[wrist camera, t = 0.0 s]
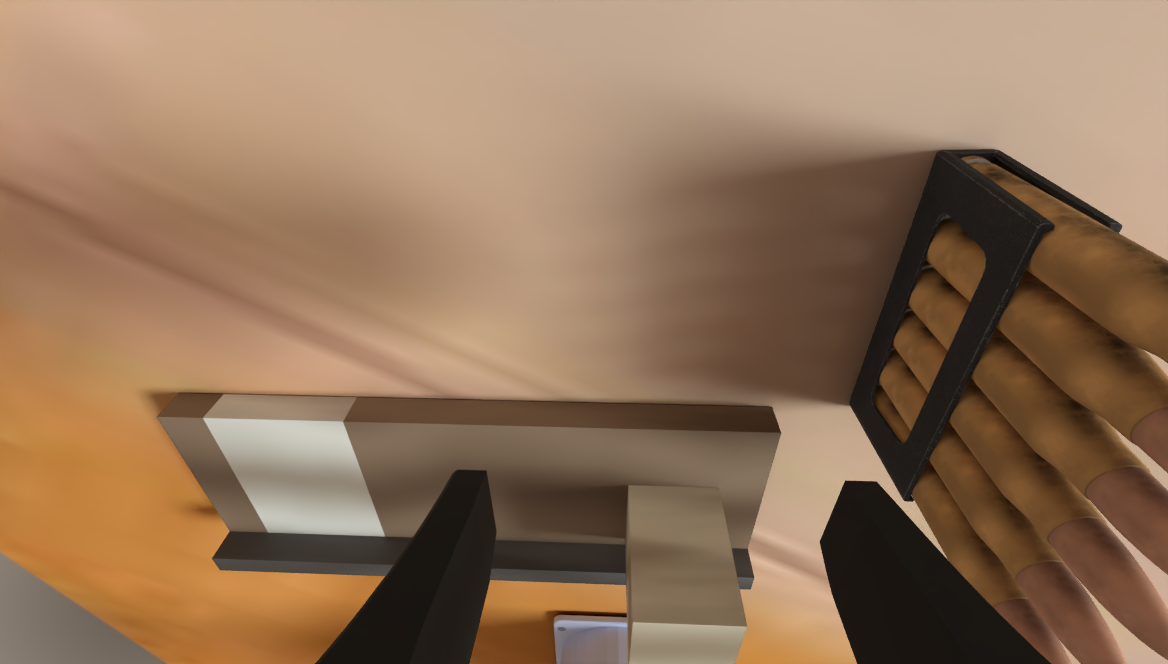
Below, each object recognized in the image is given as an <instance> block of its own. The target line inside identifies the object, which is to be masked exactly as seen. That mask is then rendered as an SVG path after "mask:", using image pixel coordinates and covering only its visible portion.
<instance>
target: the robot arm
mask: <svg viewBox="0 0 1168 664" xmlns="http://www.w3.org/2000/svg"><path fill="white" fill-rule="evenodd" d="M496 532H497V530H496V524H495V518H494V512H493V506H492V500H491V494H490V488H489V482H488V476H487V470H456V471H455V472H453V473H452V475H451V477H450V478H449V480H448V482H447V484H446V485H445V487H444V489H443V491H442V492H441V494H440V496H439V497H438V499H437V500H436V502H435V504H434V505H433V507H432V509H431V510H430V512H429V513H428V515H427V516H426V518H425V520H424V521H423V523H422V524H421V526H420V527H419V529H418V530H417V532H416V533H415V535H414V536H413V538H412V539H411V541H410V542H409V543H408V545H407V546H406V548H405V549H404V551H403V552H402V554H401V555H400V556H399V558H398V559H397V561H396V562H395V564H394V565H393V567H392V568H391V569H390V571H389V572H388V573H387V575H386V576H385V578H384V579H383V580H382V581H381V583H380V584H379V585H378V587H377V588H376V589H375V591H374V592H373V593H372V595H371V596H370V597H369V599H368V600H367V601H366V602H365V604H364V605H363V606H362V608H361V609H360V610H359V612H358V613H357V614H356V615H355V617H354V618H353V619H352V620H351V622H350V623H349V624H348V625H347V627H346V628H345V629H344V630H343V632H342V633H341V634H340V635H339V636H338V638H337V639H336V640H335V641H334V642H333V644H332V645H331V646H330V647H329V648H328V649H327V651H326V652H325V653H324V654H323V655H322V656H321V657H320V659H319V660H318V661H317V662H316V663H315V664H469V662H470V658H471V654H472V650H473V646H474V642H475V638H476V634H477V631H478V627H479V623H480V618H481V614H482V610H483V606H484V602H485V598H486V594H487V590H488V586H489V582H490V575H491V568H492V561H493V554H494V547H495V540H496ZM820 545H821V550H822V554H823V559H824V563H825V568H826V572H827V576H828V580H829V584H830V588H831V592H832V595H833V598H834V601H835V604H836V607H837V609H838V612H839V615H840V618H841V620H842V623H843V626H844V629H845V631H846V634H847V637H848V640H849V642H850V645H851V648H852V651H853V653H854V656H855V659H856V661H857V664H1051V663H1050V662H1049V661H1048V660H1047V659H1046V658H1045V657H1044V656H1043V655H1042V654H1040V653H1039V652H1038V651H1037V650H1036V649H1035V648H1034V647H1033V646H1032V645H1031V644H1030V643H1029V642H1028V641H1027V640H1026V639H1025V638H1024V637H1023V636H1022V635H1021V634H1020V633H1019V632H1018V631H1017V630H1016V629H1015V628H1014V627H1012V626H1011V625H1010V624H1009V623H1008V622H1007V621H1006V620H1005V619H1004V618H1003V617H1002V616H1001V615H1000V614H999V613H998V612H997V611H996V610H995V609H994V608H993V607H992V606H991V605H990V604H989V603H988V602H987V601H986V600H985V599H984V598H983V597H982V595H981V594H980V593H979V592H978V591H977V590H976V589H975V588H974V587H973V586H972V585H971V584H970V583H969V582H968V581H967V580H966V579H965V578H964V577H963V576H962V575H961V573H960V572H959V571H958V570H957V569H956V568H955V567H954V566H953V565H952V564H951V563H950V562H949V561H948V560H947V559H946V558H945V556H944V555H943V554H942V553H941V552H940V551H939V550H938V549H937V548H936V547H935V546H934V545H933V543H932V542H931V541H930V540H929V539H928V538H927V537H926V536H925V535H924V534H923V532H922V531H921V530H920V529H919V528H918V527H917V526H916V525H915V524H914V522H913V521H912V520H911V519H910V518H909V517H908V516H907V515H906V514H905V512H904V511H903V510H902V509H901V508H900V507H899V506H898V505H897V504H896V502H895V501H894V500H893V499H892V498H891V497H890V496H889V495H888V494H887V493H886V491H885V490H884V489H883V488H882V487H881V486H880V485H879V484H878V483H877V482H873V481H845V482H844V485H843V487H842V490H841V492H840V494H839V497H838V499H837V502H836V504H835V506H834V509H833V511H832V514H831V516H830V518H829V521H828V523H827V526H826V528H825V530H824V533H823V535H822V538H821V540H820ZM554 637H555V650H556V663H557V664H628V640H627V617H606V616H580V615H557V616H556V617H554Z"/></svg>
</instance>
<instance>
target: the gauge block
mask: <svg viewBox="0 0 1168 664" xmlns="http://www.w3.org/2000/svg"><path fill="white" fill-rule="evenodd" d="M625 556H626V598H627V640H628V664H735V661H736V658H737V655H738V653H739V650H740V647H741V644H742V641H743V638H744V635H745V632H746V629H747V623H746V618H745V613H744V608H743V603H742V598H741V594H740V589H739V584H738V579H737V574H736V569H735V564H734V559H733V554H732V549H731V544H730V539H729V534H728V529H727V524H726V519H725V514H724V509H723V505H722V500H721V495H720V490H719V488H710V487H676V486H642V485H628V501H627V517H626V532H625Z"/></svg>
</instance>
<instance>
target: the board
mask: <svg viewBox="0 0 1168 664" xmlns="http://www.w3.org/2000/svg"><path fill="white" fill-rule="evenodd" d="M157 418H158V420H159V421H160V423H161V424H162V426H163V428H164V429H165V431H166V432H167V434H168V435H169V437H170V439H171V440H172V442H173V443H174V445H175V446H176V448H177V449H178V451H179V453H180V454H181V456H182V457H183V459H184V460H185V462H186V464H187V465H188V467H189V468H190V470H191V471H192V473H193V474H194V476H195V478H196V479H197V481H198V482H199V484H200V485H201V487H202V489H203V490H204V492H205V493H206V495H207V496H208V498H209V499H210V501H211V503H212V504H213V506H214V507H215V509H216V510H217V512H218V513H219V515H220V517H221V518H222V520H223V521H224V523H225V524H226V526H227V528H228V529H229V531H230V532H229V533H228V535H227V536H226V538H225V540H224V541H223V543H222V544H221V546H220V547H219V549H218V550H217V552H216V553H215V555H214V556H213V558H212V559H213V561H214V562H215V564H216V565H217V566H218V568H219V569H220V570H231V571H258V572H285V573H313V574H340V575H367V576H386V575H387V573H388V572H389V571H390V569H391V568H392V567H393V565H394V564H395V562H396V561H397V559H398V558H399V556H400V555H401V554H402V552H403V551H404V549H405V548H406V546H407V545H408V543H409V542H410V541H411V539H412V538H413V536H414V535H415V533H416V532H417V530H418V529H419V527H420V526H421V524H422V523H423V521H424V520H425V518H426V516H427V515H428V513H429V512H430V510H431V509H432V507H433V505H434V504H435V502H436V500H437V499H438V497H439V496H440V494H441V492H442V491H443V489H444V487H445V485H446V484H447V482H448V480H449V478H450V477H451V475H452V473H453V472H455V471H456V470H487V476H488V482H489V488H490V494H491V500H492V506H493V512H494V518H495V524H496V530H497V532H496V540H495V547H494V554H493V561H492V568H491V575H490V580H504V581H532V582H559V583H586V584H614V585H626V556H625V532H626V517H627V501H628V485H642V486H676V487H710V488H719V490H720V495H721V500H722V505H723V509H724V514H725V519H726V524H727V529H728V534H729V539H730V544H731V549H732V554H733V559H734V564H735V569H736V574H737V579H738V584H739V589H751V586H752V583H753V580H754V575H753V570H752V566H751V562H750V557H749V553H748V545H749V542H750V539H751V535H752V532H753V528H754V525H755V521H756V518H757V514H758V511H759V508H760V504H761V501H762V497H763V494H764V490H765V487H766V483H767V480H768V477H769V473H770V470H771V466H772V463H773V459H774V456H775V452H776V449H777V445H778V442H779V439H780V435H781V431H780V428H779V425H778V423H777V420H776V417H775V414H774V411H773V408H772V407H744V406H702V405H660V404H618V403H576V402H534V401H492V400H450V399H409V398H367V397H325V396H283V395H241V394H199V393H180V394H179V395H178V396H177V397H176V398H175V399H174V400H173V401H172V402H171V403H170V404H169V405H168V406H167V407H166V408H165V409H164V410H163V411H162V412H161V413H160V414H159V415H158V416H157Z"/></svg>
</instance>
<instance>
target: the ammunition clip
mask: <svg viewBox="0 0 1168 664" xmlns="http://www.w3.org/2000/svg"><path fill="white" fill-rule="evenodd" d="M1121 229H1122V225H1121V224H1120V223H1118V222H1117V221H1115V220H1114V219H1112V218H1110V217H1109V216H1107V215H1105V214H1104V213H1102V212H1100V211H1099V210H1097V209H1095V208H1094V207H1092V206H1090V205H1089V204H1087V203H1085V202H1084V201H1082V200H1081V199H1079V198H1077V197H1076V196H1074V195H1072V194H1071V193H1069V192H1067V191H1066V190H1064V189H1062V188H1061V187H1059V186H1057V185H1056V184H1054V183H1052V182H1051V181H1049V180H1048V179H1046V178H1044V177H1043V176H1041V175H1039V174H1038V173H1036V172H1034V171H1033V170H1031V169H1029V168H1028V167H1026V166H1024V165H1023V164H1021V163H1019V162H1018V161H1016V160H1015V159H1013V158H1011V157H1010V156H1008V155H1006V154H1005V153H1003V152H1001V151H1000V150H944V151H941V152H939V153H937V154H936V157H935V160H934V163H933V166H932V168H931V171H930V174H929V177H928V180H927V183H926V186H925V188H924V191H923V194H922V197H921V200H920V203H919V205H918V208H917V211H916V214H915V217H914V220H913V223H912V225H911V228H910V231H909V234H908V237H907V240H906V242H905V245H904V248H903V251H902V254H901V257H900V260H899V262H898V265H897V268H896V271H895V274H894V277H893V280H892V282H891V285H890V288H889V291H888V294H887V297H886V299H885V302H884V305H883V308H882V311H881V314H880V317H879V319H878V322H877V325H876V328H875V331H874V334H873V336H872V339H871V342H870V345H869V348H868V351H867V354H866V356H865V359H864V362H863V365H862V368H861V371H860V373H859V376H858V379H857V382H856V385H855V388H854V391H853V393H852V396H851V399H850V406H851V408H852V410H853V411H854V413H855V415H856V417H857V419H858V420H859V422H860V424H861V426H862V427H863V429H864V431H865V433H866V434H867V436H868V438H869V440H870V442H871V443H872V445H873V447H874V449H875V450H876V452H877V454H878V456H879V458H880V459H881V461H882V463H883V465H884V466H885V468H886V470H887V472H888V473H889V475H890V477H891V479H892V481H893V482H894V484H895V486H896V488H897V489H898V491H899V493H900V495H901V496H902V498H903V500H904V501H911V502H913V501H914V500H915V502H916V504H917V505H918V507H919V509H920V511H921V512H922V514H923V516H924V518H925V520H926V521H927V523H928V525H929V527H930V528H931V530H932V532H933V534H934V535H935V537H936V539H937V541H938V543H939V544H940V546H941V548H942V550H943V551H944V553H945V555H946V557H947V559H948V560H949V562H950V563H951V564H952V565H953V566H954V567H955V568H956V569H957V570H958V571H959V572H960V573H961V575H962V576H963V577H964V578H965V579H966V580H967V581H968V582H969V583H970V584H971V585H972V586H973V587H974V588H975V589H976V590H977V591H978V592H979V593H980V594H981V595H982V597H983V598H984V599H985V600H986V601H987V602H988V603H989V604H990V605H991V606H992V607H993V608H994V609H995V610H996V611H997V612H998V613H999V614H1000V615H1001V616H1002V617H1003V618H1004V619H1005V620H1006V621H1007V622H1008V623H1009V624H1010V625H1011V626H1012V627H1014V628H1015V629H1016V630H1017V631H1018V632H1019V633H1020V634H1021V635H1022V636H1023V637H1024V638H1025V639H1026V640H1027V641H1028V642H1029V643H1030V644H1031V645H1032V646H1033V647H1034V648H1035V649H1036V650H1037V651H1038V652H1039V653H1040V654H1042V655H1043V656H1044V657H1045V658H1046V659H1047V660H1048V661H1049V662H1050V663H1051V664H1072V663H1071V661H1070V659H1069V658H1068V656H1067V654H1066V652H1065V650H1064V648H1063V646H1062V644H1061V642H1062V643H1063V645H1064V646H1065V647H1066V648H1067V649H1068V650H1069V651H1070V653H1071V654H1072V655H1073V656H1074V657H1075V658H1076V659H1077V660H1078V661H1079V662H1080V663H1081V664H1126V662H1125V659H1124V657H1123V655H1122V652H1121V650H1120V648H1119V646H1118V644H1117V642H1116V640H1115V638H1114V636H1113V634H1112V632H1111V630H1110V628H1109V627H1108V625H1107V623H1106V622H1105V620H1104V618H1103V617H1102V615H1101V613H1100V612H1099V610H1098V609H1097V607H1096V605H1095V604H1094V602H1093V601H1092V599H1091V597H1090V596H1089V594H1088V593H1087V592H1086V590H1085V589H1084V587H1083V586H1082V585H1081V583H1082V584H1083V585H1084V586H1085V587H1086V588H1087V589H1088V591H1089V592H1090V593H1091V594H1092V595H1093V596H1094V597H1095V598H1096V599H1097V600H1098V602H1099V603H1100V604H1101V605H1102V606H1103V607H1104V608H1105V609H1106V610H1107V611H1108V612H1110V613H1111V614H1112V615H1113V616H1114V617H1115V618H1116V619H1117V620H1118V621H1119V622H1120V623H1121V624H1122V625H1123V626H1125V627H1126V628H1127V629H1128V630H1129V631H1130V632H1131V633H1133V634H1134V635H1135V636H1136V637H1137V638H1138V639H1139V640H1141V641H1142V642H1143V643H1144V644H1146V645H1147V646H1148V647H1150V648H1151V649H1152V650H1154V651H1155V652H1157V653H1158V654H1160V655H1161V656H1162V657H1164V658H1165V659H1167V660H1168V609H1167V608H1166V606H1165V604H1164V602H1163V601H1162V599H1161V597H1160V595H1159V594H1158V592H1157V590H1156V589H1155V587H1154V586H1153V584H1152V582H1151V581H1150V580H1149V578H1148V577H1147V575H1146V574H1145V572H1144V571H1143V570H1142V568H1141V567H1140V565H1139V564H1138V562H1137V561H1136V560H1135V558H1134V557H1133V556H1132V554H1131V553H1130V552H1129V550H1128V549H1127V548H1126V547H1125V546H1124V544H1123V543H1122V542H1121V541H1120V540H1119V538H1118V537H1117V536H1116V535H1115V534H1114V533H1113V531H1112V530H1111V529H1110V528H1109V527H1108V525H1107V523H1106V521H1105V520H1104V518H1103V517H1102V516H1101V515H1100V513H1099V512H1098V511H1097V510H1096V508H1095V507H1094V506H1093V505H1092V503H1093V504H1094V505H1095V506H1096V507H1097V509H1098V510H1099V511H1100V512H1101V513H1102V514H1103V515H1104V516H1105V517H1106V518H1107V520H1108V521H1109V522H1110V523H1111V524H1112V525H1113V526H1114V527H1115V528H1116V529H1117V530H1118V531H1119V532H1120V533H1121V534H1122V535H1123V536H1124V537H1125V538H1126V539H1127V540H1128V541H1129V542H1131V543H1132V544H1133V545H1134V546H1135V547H1136V548H1137V549H1138V550H1139V551H1140V552H1141V553H1142V554H1143V555H1144V556H1146V557H1147V558H1148V559H1149V560H1150V561H1152V562H1153V563H1154V564H1155V565H1156V566H1158V567H1159V568H1160V569H1161V570H1162V571H1164V572H1165V573H1166V574H1167V575H1168V490H1167V489H1166V488H1165V487H1164V486H1163V485H1162V484H1161V483H1160V482H1159V481H1158V480H1157V479H1156V478H1155V477H1154V476H1153V475H1152V474H1151V473H1150V471H1149V469H1148V468H1147V467H1146V466H1145V465H1144V464H1143V463H1142V462H1141V461H1140V460H1139V459H1138V458H1137V457H1136V456H1135V454H1134V453H1133V452H1132V451H1131V450H1130V449H1129V448H1128V447H1127V446H1126V445H1125V444H1124V443H1123V442H1122V440H1121V439H1120V437H1119V436H1118V434H1117V433H1116V431H1115V430H1114V428H1115V429H1116V430H1117V431H1119V432H1120V433H1121V434H1122V435H1123V436H1124V437H1126V438H1127V439H1128V440H1129V441H1130V442H1132V443H1133V444H1135V445H1137V446H1138V447H1139V448H1141V449H1142V450H1143V451H1144V452H1145V453H1146V454H1147V455H1148V456H1149V457H1151V458H1152V459H1153V460H1154V461H1155V462H1156V463H1157V464H1158V465H1159V466H1161V467H1162V468H1163V469H1164V470H1165V471H1166V472H1167V473H1168V376H1167V375H1166V374H1165V373H1164V372H1163V370H1162V369H1161V368H1160V367H1159V365H1158V364H1157V363H1156V362H1155V361H1154V360H1153V359H1152V357H1151V356H1150V355H1149V354H1148V353H1146V352H1145V351H1148V352H1150V353H1152V354H1154V355H1156V356H1158V357H1160V358H1161V359H1163V360H1164V361H1166V362H1167V363H1168V261H1167V260H1165V259H1164V258H1162V257H1160V256H1158V255H1156V254H1155V253H1153V252H1151V251H1149V250H1147V249H1146V248H1144V247H1142V246H1140V245H1139V244H1137V243H1135V242H1133V241H1131V240H1130V239H1128V238H1126V237H1124V236H1122V235H1121V234H1119V232H1120V230H1121ZM1144 350H1145V351H1144ZM1112 426H1113V427H1114V428H1113V427H1112ZM911 495H912V496H911ZM912 497H913V498H914V499H913V498H912ZM1088 499H1089V500H1090V501H1091V502H1092V503H1091V502H1090V501H1089V500H1088ZM1076 577H1077V578H1078V579H1079V580H1078V579H1077V578H1076ZM1079 581H1080V582H1081V583H1080V582H1079ZM1059 640H1060V641H1061V642H1060V641H1059Z"/></svg>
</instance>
